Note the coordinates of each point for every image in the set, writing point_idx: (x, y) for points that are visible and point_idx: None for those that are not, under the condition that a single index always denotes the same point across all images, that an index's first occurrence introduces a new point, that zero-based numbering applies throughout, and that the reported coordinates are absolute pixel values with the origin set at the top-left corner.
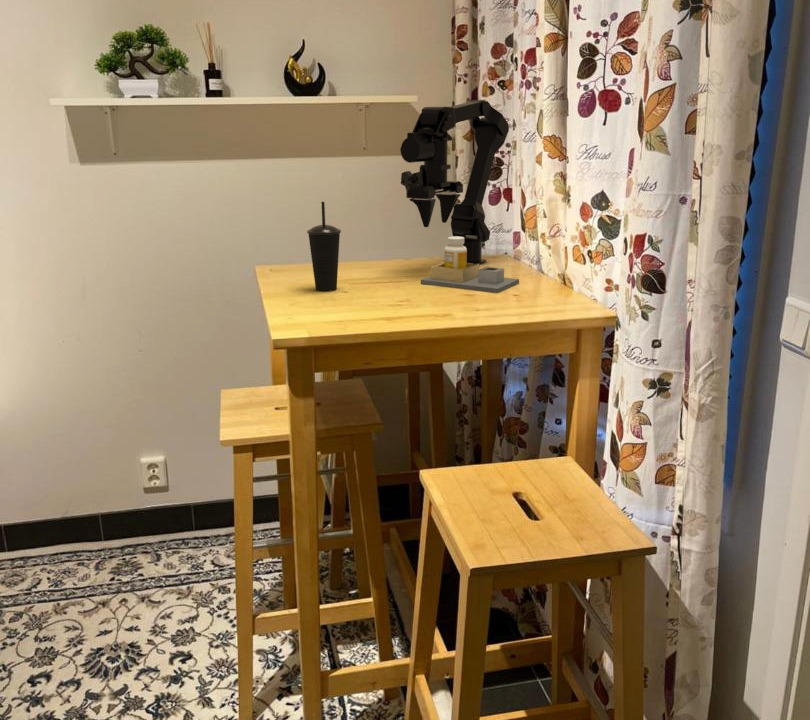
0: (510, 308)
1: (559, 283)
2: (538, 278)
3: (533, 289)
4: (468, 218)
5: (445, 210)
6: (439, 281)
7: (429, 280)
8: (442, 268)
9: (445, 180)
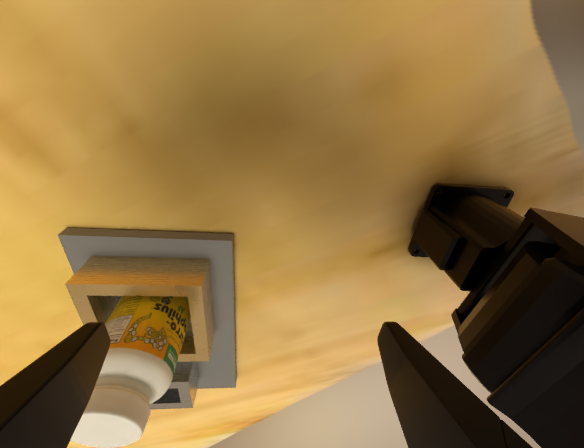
0: None
1: (273, 412)
2: (300, 384)
3: (201, 404)
4: (504, 397)
5: (428, 439)
6: None
7: (71, 260)
8: (81, 315)
9: None
